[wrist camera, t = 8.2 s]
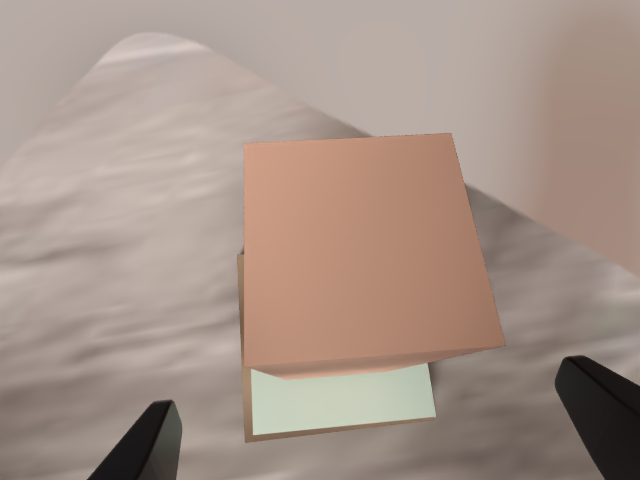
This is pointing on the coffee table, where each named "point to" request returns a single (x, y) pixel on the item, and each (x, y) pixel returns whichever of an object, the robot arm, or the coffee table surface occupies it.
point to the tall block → (361, 257)
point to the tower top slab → (340, 400)
